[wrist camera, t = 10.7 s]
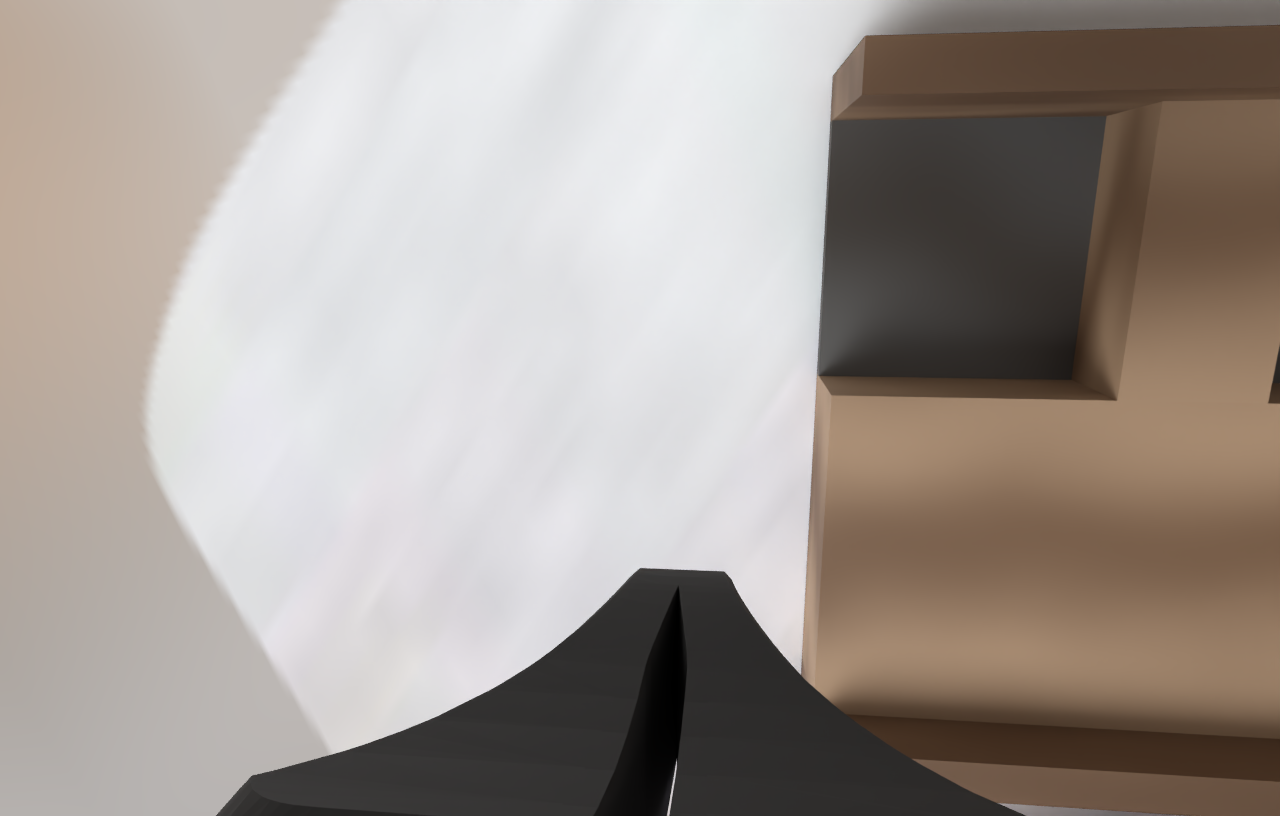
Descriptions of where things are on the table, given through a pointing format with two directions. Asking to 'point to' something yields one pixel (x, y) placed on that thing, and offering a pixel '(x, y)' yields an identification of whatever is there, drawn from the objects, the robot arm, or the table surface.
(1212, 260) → the trap track
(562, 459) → the table surface
